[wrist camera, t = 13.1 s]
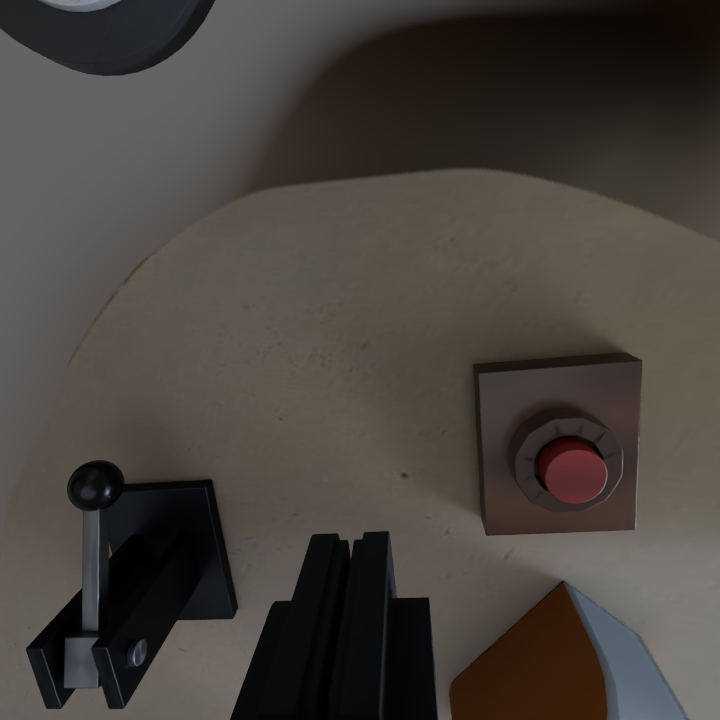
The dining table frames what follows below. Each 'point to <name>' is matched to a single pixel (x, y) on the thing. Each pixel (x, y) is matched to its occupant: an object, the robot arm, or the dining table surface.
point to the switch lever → (92, 566)
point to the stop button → (572, 470)
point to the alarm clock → (565, 670)
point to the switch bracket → (145, 587)
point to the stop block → (552, 422)
